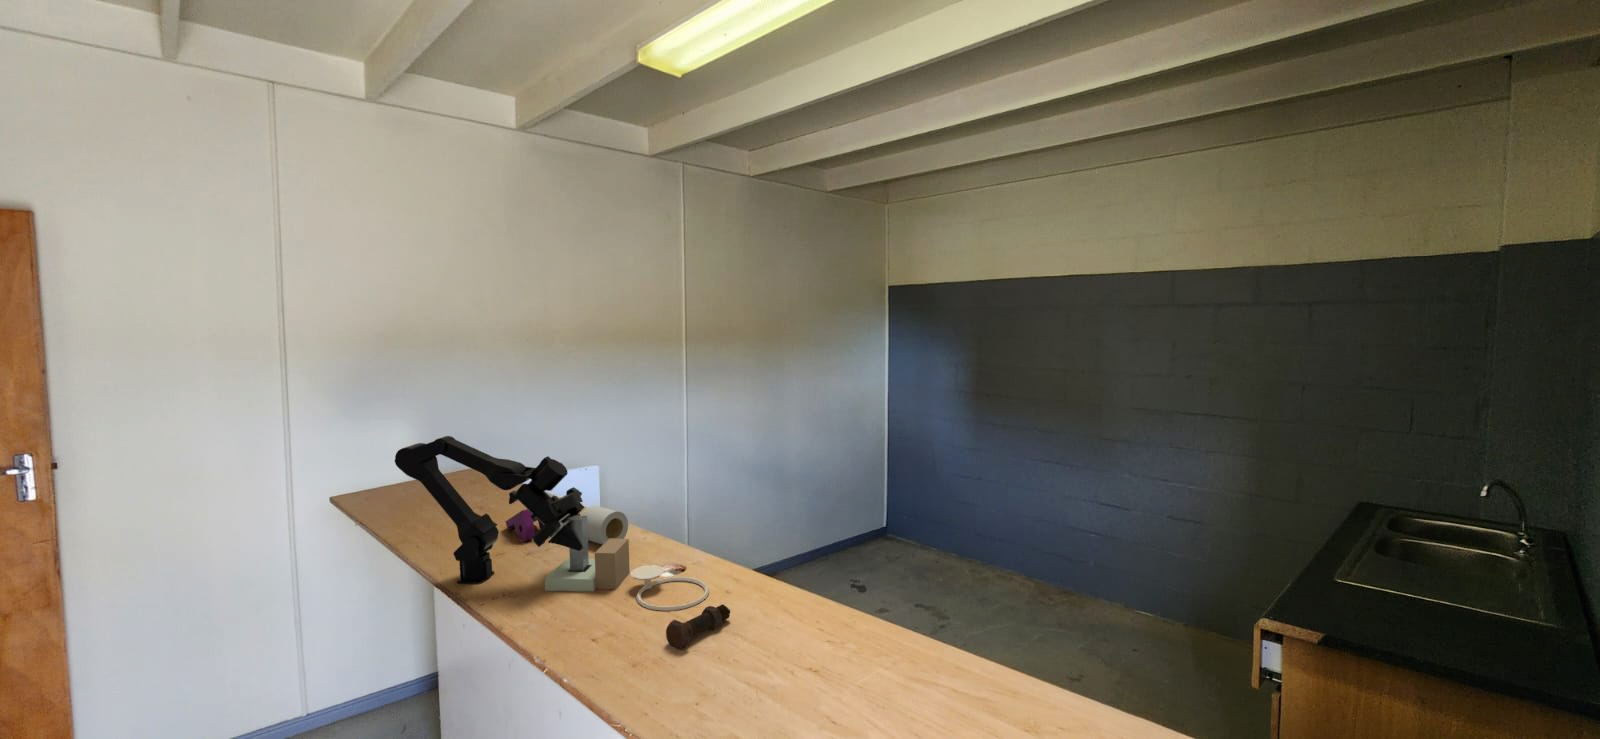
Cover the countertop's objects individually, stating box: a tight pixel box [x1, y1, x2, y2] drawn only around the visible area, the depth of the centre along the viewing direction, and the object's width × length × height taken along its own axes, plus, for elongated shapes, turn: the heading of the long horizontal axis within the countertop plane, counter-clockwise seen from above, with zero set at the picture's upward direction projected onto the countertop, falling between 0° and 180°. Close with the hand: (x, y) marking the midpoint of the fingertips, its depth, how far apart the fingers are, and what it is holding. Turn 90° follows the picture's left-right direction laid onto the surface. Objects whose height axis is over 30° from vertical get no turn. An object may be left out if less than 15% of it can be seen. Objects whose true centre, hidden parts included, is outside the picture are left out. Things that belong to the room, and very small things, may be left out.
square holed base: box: [544, 538, 631, 593], centre depth 162 cm, size 17×13×9 cm
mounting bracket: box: [505, 508, 544, 542], centre depth 197 cm, size 10×8×18 cm
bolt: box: [665, 604, 731, 651], centre depth 135 cm, size 6×5×15 cm
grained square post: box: [568, 515, 590, 572], centre depth 162 cm, size 3×3×15 cm
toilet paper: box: [580, 505, 629, 546], centre depth 188 cm, size 10×10×10 cm
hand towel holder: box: [629, 564, 710, 612], centre depth 154 cm, size 17×4×21 cm
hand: (584, 546), depth 161 cm, fingers closed on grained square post, 3 cm apart
